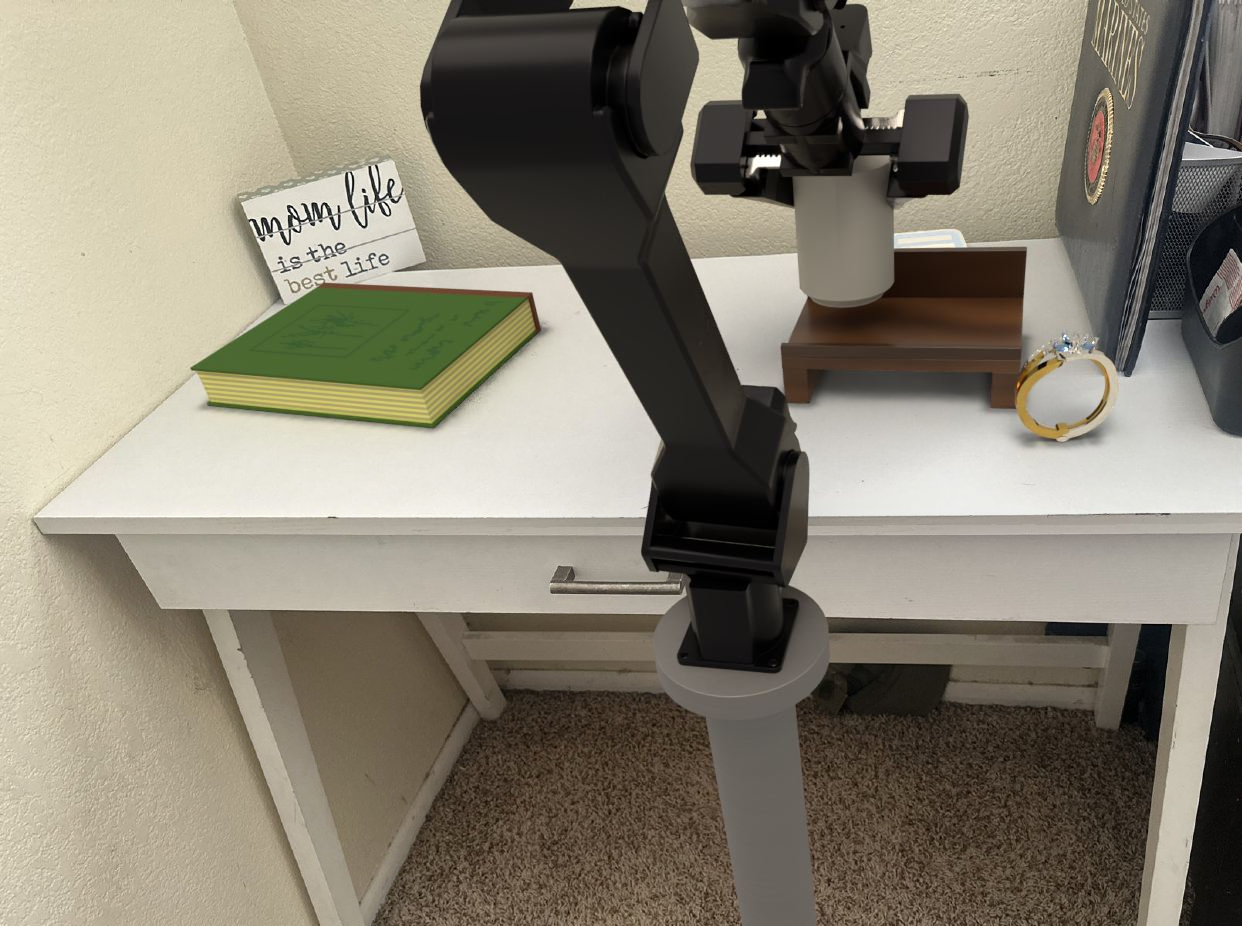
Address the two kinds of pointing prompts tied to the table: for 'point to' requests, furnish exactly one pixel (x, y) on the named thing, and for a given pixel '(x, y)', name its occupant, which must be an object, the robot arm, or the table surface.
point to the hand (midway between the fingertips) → (848, 203)
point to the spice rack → (921, 322)
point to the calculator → (930, 239)
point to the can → (845, 234)
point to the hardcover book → (371, 352)
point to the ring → (1064, 351)
